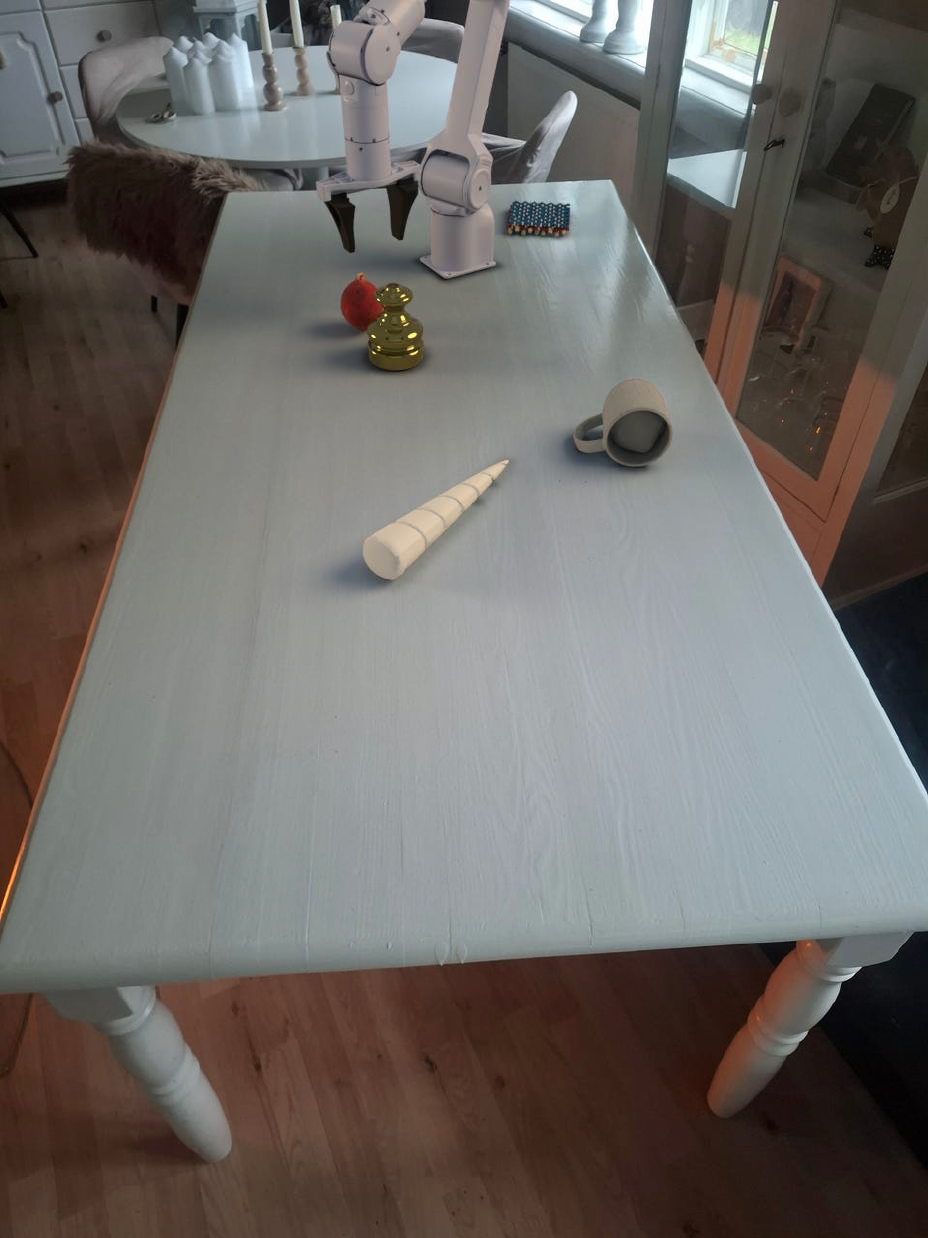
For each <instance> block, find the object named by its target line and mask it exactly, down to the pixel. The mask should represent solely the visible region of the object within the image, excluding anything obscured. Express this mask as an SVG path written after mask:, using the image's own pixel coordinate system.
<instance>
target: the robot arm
mask: <svg viewBox="0 0 928 1238" xmlns="http://www.w3.org/2000/svg"><path fill="white" fill-rule="evenodd" d="M427 1H428V0H369V1H368V2H367V3H366V4H365V5H364V6H362V8H361V9H359V11H358V14H356V16H355V17H354V19H353V20H349V19H348V20H343V21H341V22H340V23H339V24H338V25H336V27H334V28H333V30H332V31H331V34H330V37H329V41H328V48H327V49H328V50H327V51H326V52H325V57H326V61H327V64H328V66H329V68H330V70H331V72H332V73H333V75H334V78H335V87H336V89H337V91H338V92H339V94H340V102H341V114H342V126H343V138H344V152H345V164H346V169H345V170H343V171H341V172H339V173H337V174H334V175H332V176H329V177H326V178H324V179H320V180H317V181H315V188H316V194H317V195H316V197H317V198H318V199H320V200H321V201H322V202H323V203H324V205H325V207H326V208H327V210H328V212H329V213H330V215H331V217H332V219H333V222H334V224H335V227H336V228H337V231H338V233H339V237H340V240H341V243H342V246H343V250H345V251H346V252H348V253H349V254H354V253H356V241H355V240H356V239H355V215H356V214H355V213H356V207H357V206H356V205H355V204H353V203H352V202H351V201H350V198H349V197H348V195H351V194H352V195H353V194H355V193H361V192H364V191H368V190H372V189H377V188H382V187H385V190H386V193H387V199H388V204H389V218H390V232H391V236H392V237H393V238H395V239H396V240H397V241H400V242H401V241H403V240H404V237H405V233H406V227H407V222H408V220H409V215H410V212H411V210H412V207H413V205H414V203H415V201H416V199H417V198H418V196H419V191H420V193H421V195H422V196H423V197H425V204H426V205H427V206H429V211H430V220H429V221H430V223H429V224H430V254H428V255H424V256H420V258H419V260H420V262H421V263H423V264H424V265H425V266H427V267H428V268H429V269H431V270H432V271H433V272H435V273H436V274H438V275H439V276H440V277H442V278H443V279H445V280H448V279H453V278H456V277H460V276H463V275H467V274H472V273H475V272H478V271H482V270H485V269H488V268H493V267H496V265H497V263H496V261H495V260H494V247H495V216H494V213H493V210H492V208H491V206H490V204H489V203H488V202H487V201H488V199H489V196H490V194H491V188H492V167H493V162H494V157H493V155H492V154H491V153H490V151H489V150H488V148H487V147H486V145H485V144H484V142H483V141H482V139H481V138H482V134H483V128H484V124H485V120H486V114H487V110H488V105H489V100H490V96H491V91H492V87H493V82H494V78H495V73H496V69H497V64H498V58H499V56H500V55H499V54H500V49H501V45H502V41H503V36H504V31H505V26H506V22H507V17H508V12H509V7H510V3H511V0H469V4H468V8H467V14H466V19H465V24H464V29H463V30H464V31H463V34H462V39H461V44H460V50H459V54H458V59H457V64H456V68H455V69H456V70H455V74H454V79H453V85H452V90H451V94H450V100H449V106H448V110H447V116H446V121H445V126H444V129H443V130H441V131H440V132H439V133H437V134H436V135H434V136H433V137H432V138H430V139H429V140H428V142H427V147H426V151H425V154H424V157H423V159H422V160H421V163H418V162H416V161H415V160H408V161H401V162H400V161H399V162H391V161H392V160H391V141H390V139H391V138H390V121H389V120H390V119H389V118H390V117H389V100H388V99H389V98H388V97H389V96H388V80H389V79H391V78H392V76H393V75H394V72H395V69H396V65H397V60H398V57H399V55H400V54H401V50H402V46H403V45H404V44H405V43H406V41H407V40H408V39H409V38H410V36H411V35H412V34H413V33H414V32H415V30H416V29H417V28H418V27H419V26H420V25H421V23H422V22H423V21H424V18H425V14H426V7H425V3H426V2H427ZM452 154H453V155H459V156H462V157H464V158H466V159H467V160H465V159H462V158H457V157H454V156H450V155H452ZM415 182H417V184H416V183H415Z"/></svg>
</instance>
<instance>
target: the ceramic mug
mask: <svg viewBox="0 0 928 1238" xmlns="http://www.w3.org/2000/svg"><path fill="white" fill-rule="evenodd" d="M669 415H670V414H669V412H668V409H667V406H666V403H665V399H664V397H663V394H662V393H661V392H660V391H659V389H658V388H657V387H656V386H655V385H654V384H653V383H651V382H649V381H647V380H643V379H640V378H639V379H637V378H635V379H627V380H624V381H621V382H620V383H618V384H616V385H615V386H614V387H613V388H611V390H609V392H608V394H607V395H606V397H605V399H604V402H603V407H602V411H601V413H598V414H594V415H592V416H590V417H588V418H586V419H584V420H582V421H581V422H580V423H579V424H578V425H577V426H576V427H575V429H574V431H573V442H574V443H575V446H576V449H577V450H579V451H580V452H582V453H586V454H594V453H600V452H603V451H604V452H605V451H606V454H607V455H608V456H609V457H610V458H611V460H613V461H614V462H615V463H618V464H619V465H623V466H625V467H632V468H633V467H634V468H637V467H644V466H647V465H650V464H652V463H655V462H656V461H658V460H659V459H661V458H662V457H663V456H664V455H665V453H666V452H667V451H668V449H669V448H670V446H671V443H672V439H673V434H674V431H673V430H674V429H673V424H672V421H671V419H670V416H669ZM600 426H602V437H601V438H599V439H592V440H583V438H584V437H585V434H587V433H588V432H589V431H591V430H593V429H595V428H598V427H600Z"/></svg>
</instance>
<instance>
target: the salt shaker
mask: <svg viewBox="0 0 928 1238" xmlns="http://www.w3.org/2000/svg"><path fill="white" fill-rule="evenodd" d="M413 298H414V293H413V291H412V289H410V288H409V287H408V286H405V285H403V284H399V283H397V282H389V283H387V284H384V285H382V286H380V287H377V290H376V291H375V292H374V299H375V301H376V302H377V303H379V304H380V305H382V306H383V312H382V313H380V314H379V315H378V316H377V317H376V318H374V319H373V320H372V321H371V322H370V323H369V324H368V326H367V330H366V335H367V338H368V341H367V347H368V358H369V361H370V362H371V363H372V365H373V366H375V367H377V368H379V369H382V370H385V371H394V372H395V371H396V372H397V371H404V370H410V369H412V368H414V367H417V366H418V365H419V364H420V363H421V362H422V360H423V359H424V340H423V336H424V325H422V323H421V322H420V320H419V319H418V318H416V317H414V316H412V315H411V314H410V313H408V312H407V310H405V308H406V306H407V305H408V304H409V303H410V302H411V301H413Z"/></svg>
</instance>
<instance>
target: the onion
mask: <svg viewBox="0 0 928 1238" xmlns="http://www.w3.org/2000/svg"><path fill="white" fill-rule="evenodd" d="M377 289H378V287H376V285H374V283H372V282H371V281H368V280H366V274H364V273H363V272H359V273H357V274H356V276H355V278H354V280H353V281H351V282H350V283H348V285H347V286H345V288H344V289H343V291H342V293H341V296H340V311H341V315H342V316H343V318H344V320H346V322H347V323H348V324H349V325H351V326H352V327H353V328H355V329H358V330H360V331H367V326H368V324H369V323H370V322H371V321H372V320H373V319H374V318H376V317H377V316H378V315H379V314H380V313H382V312H383V310H384V308H383V306H382V305H380V304H379V303H377V302H376V301H375V299H374V292H375V291H376V290H377Z"/></svg>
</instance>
